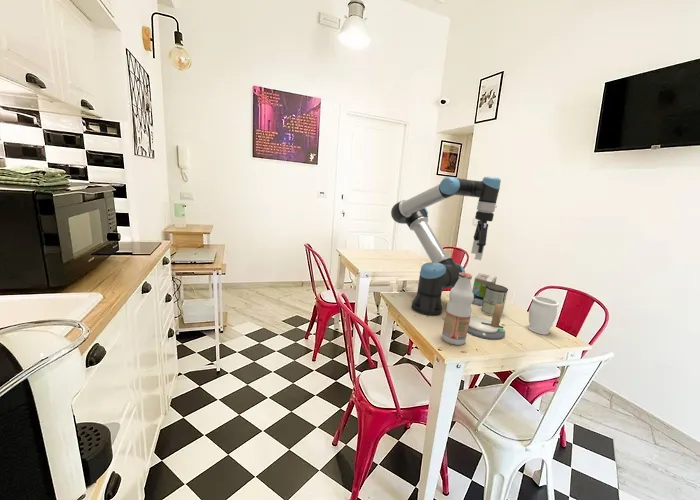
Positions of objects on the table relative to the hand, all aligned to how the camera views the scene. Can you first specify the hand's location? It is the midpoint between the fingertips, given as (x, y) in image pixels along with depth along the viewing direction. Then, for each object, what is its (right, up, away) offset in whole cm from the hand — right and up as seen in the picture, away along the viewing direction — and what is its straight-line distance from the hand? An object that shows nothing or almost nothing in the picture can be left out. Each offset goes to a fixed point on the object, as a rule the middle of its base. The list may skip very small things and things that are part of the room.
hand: (475, 256), depth 145 cm
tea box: (+15, -27, +29) cm, 42 cm away
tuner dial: (0, -31, -7) cm, 32 cm away
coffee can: (+14, -30, +14) cm, 36 cm away
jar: (+28, -35, -2) cm, 45 cm away
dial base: (-1, -32, -7) cm, 33 cm away
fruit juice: (-18, -34, -20) cm, 43 cm away
